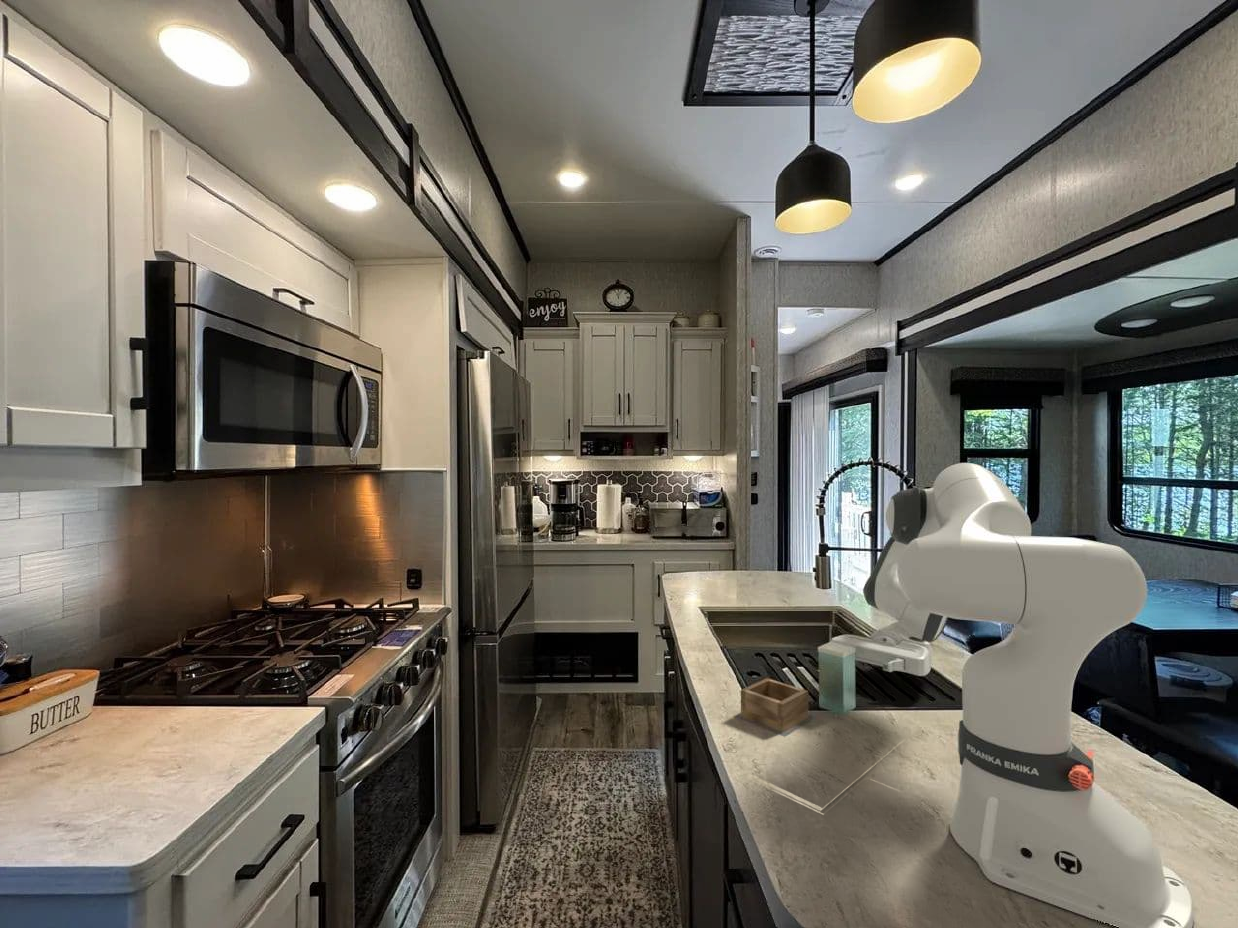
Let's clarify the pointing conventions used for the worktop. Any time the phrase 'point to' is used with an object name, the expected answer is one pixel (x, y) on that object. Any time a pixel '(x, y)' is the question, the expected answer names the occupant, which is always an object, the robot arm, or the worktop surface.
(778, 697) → the open wooden box
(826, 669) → the tea tin
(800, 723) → the mat
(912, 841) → the worktop surface
